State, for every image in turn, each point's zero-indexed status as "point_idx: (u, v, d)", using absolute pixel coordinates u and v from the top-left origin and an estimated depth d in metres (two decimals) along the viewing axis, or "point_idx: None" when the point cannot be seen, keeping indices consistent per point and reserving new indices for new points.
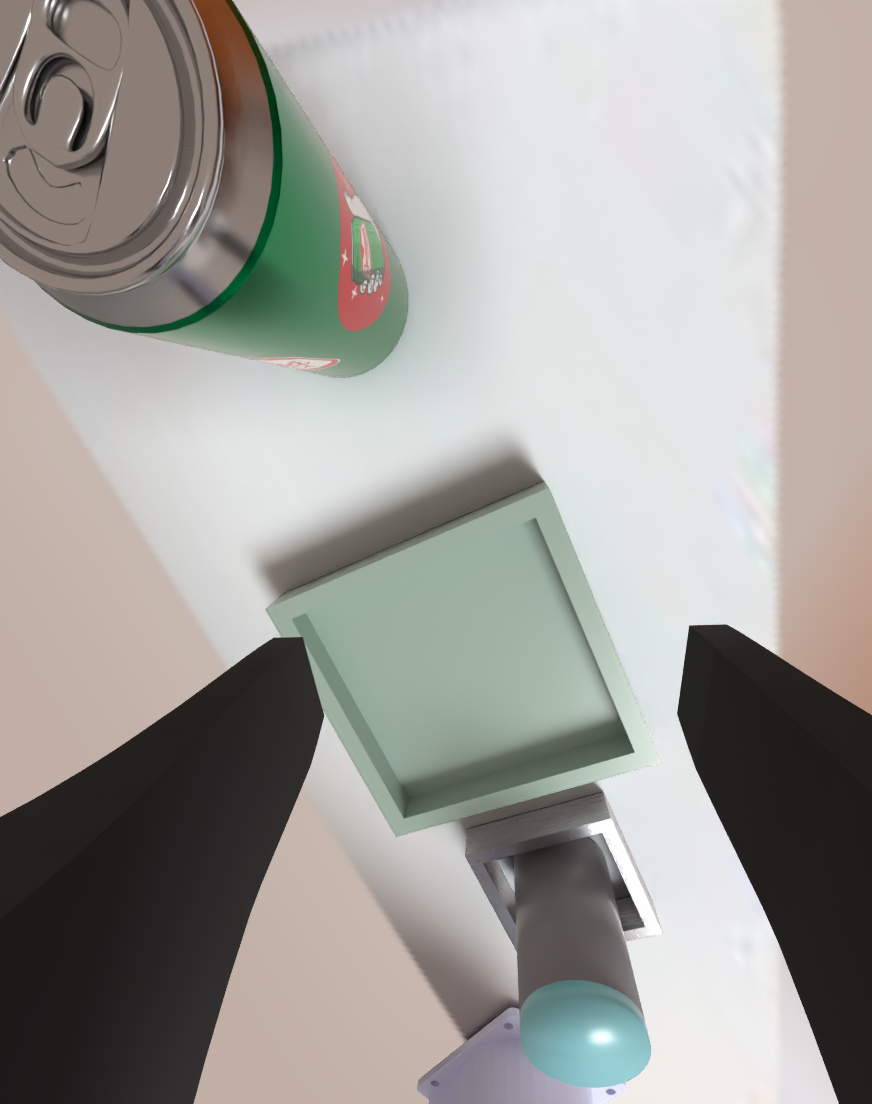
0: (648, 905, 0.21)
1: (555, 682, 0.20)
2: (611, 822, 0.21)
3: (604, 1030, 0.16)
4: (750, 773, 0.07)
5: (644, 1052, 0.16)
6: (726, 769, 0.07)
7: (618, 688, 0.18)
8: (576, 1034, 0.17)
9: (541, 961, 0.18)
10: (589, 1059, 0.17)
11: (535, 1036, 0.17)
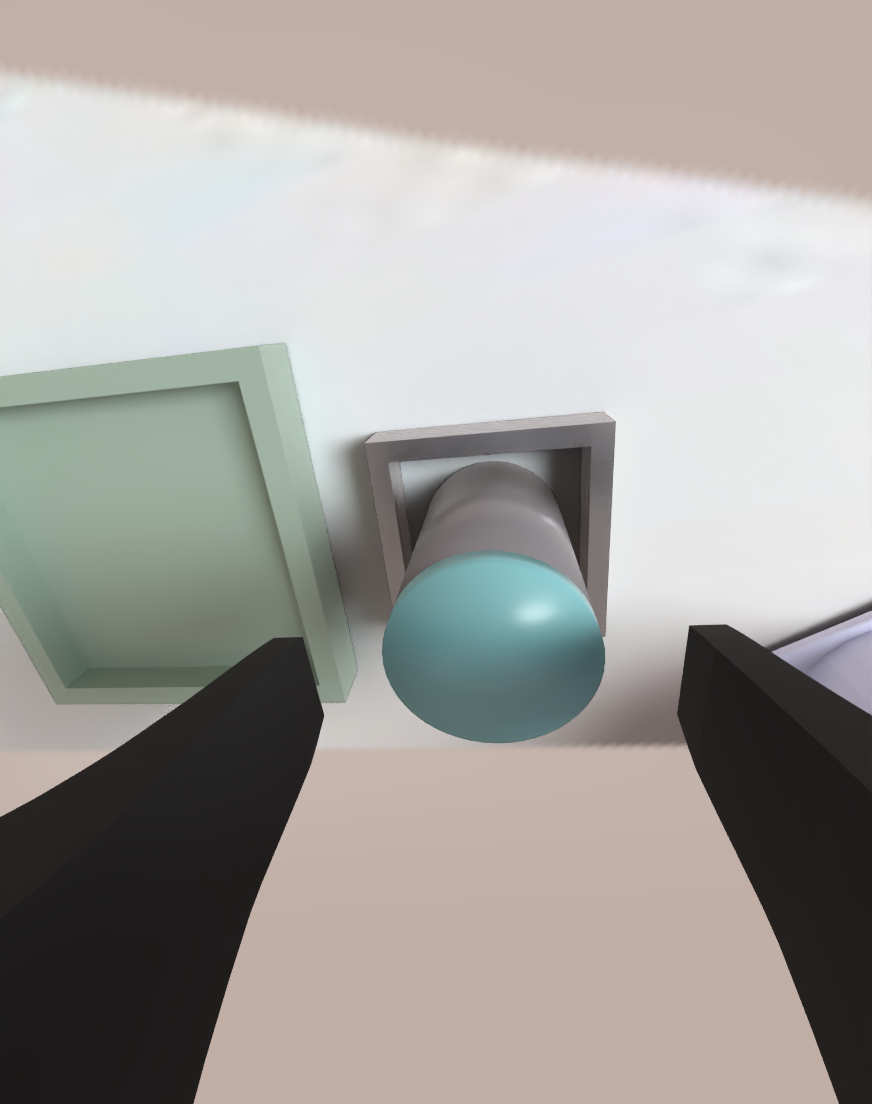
0: (546, 430, 0.13)
1: (176, 449, 0.15)
2: (371, 444, 0.14)
3: (459, 625, 0.09)
4: (750, 773, 0.07)
5: (526, 580, 0.09)
6: (726, 769, 0.07)
7: (134, 378, 0.13)
8: (461, 666, 0.10)
9: None
10: (526, 665, 0.10)
11: (458, 718, 0.10)
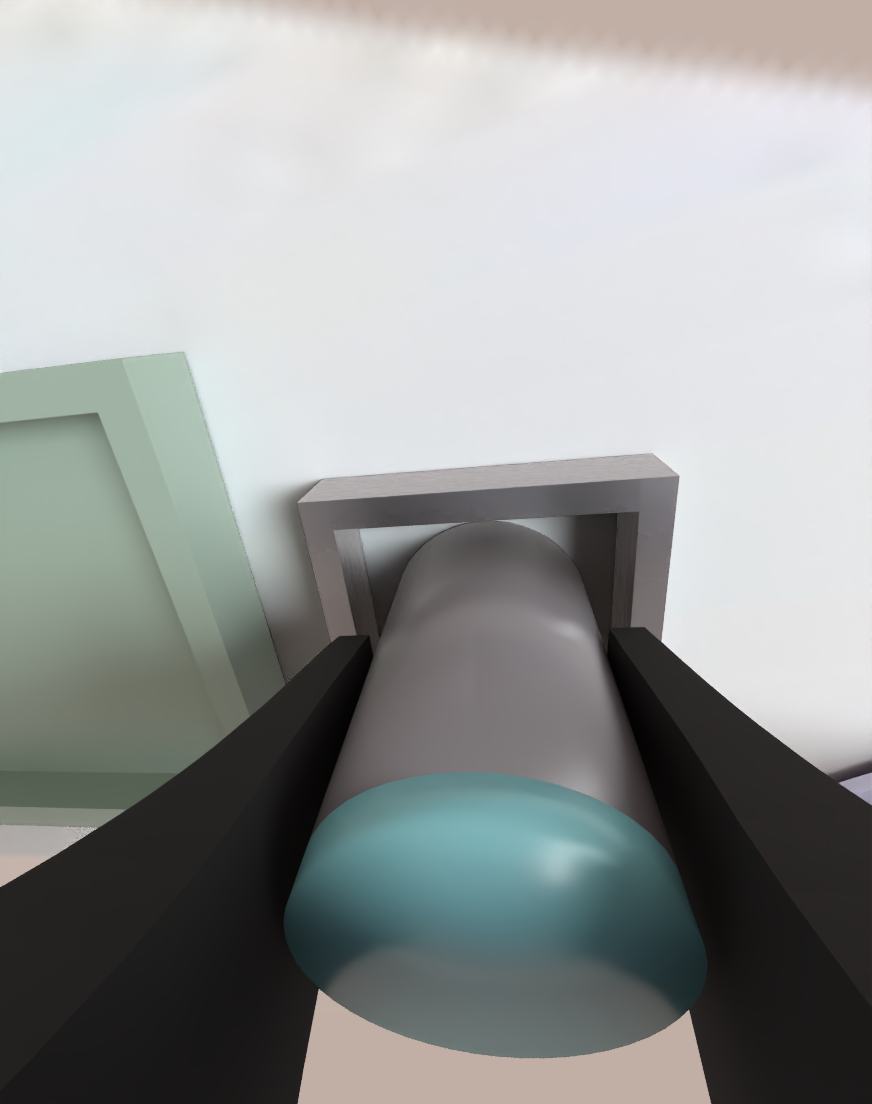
0: (570, 487, 0.08)
1: (40, 503, 0.11)
2: (307, 504, 0.09)
3: (423, 912, 0.05)
4: (649, 772, 0.07)
5: (557, 859, 0.04)
6: None
7: None
8: (431, 964, 0.05)
9: None
10: (553, 973, 0.05)
11: (429, 1024, 0.06)
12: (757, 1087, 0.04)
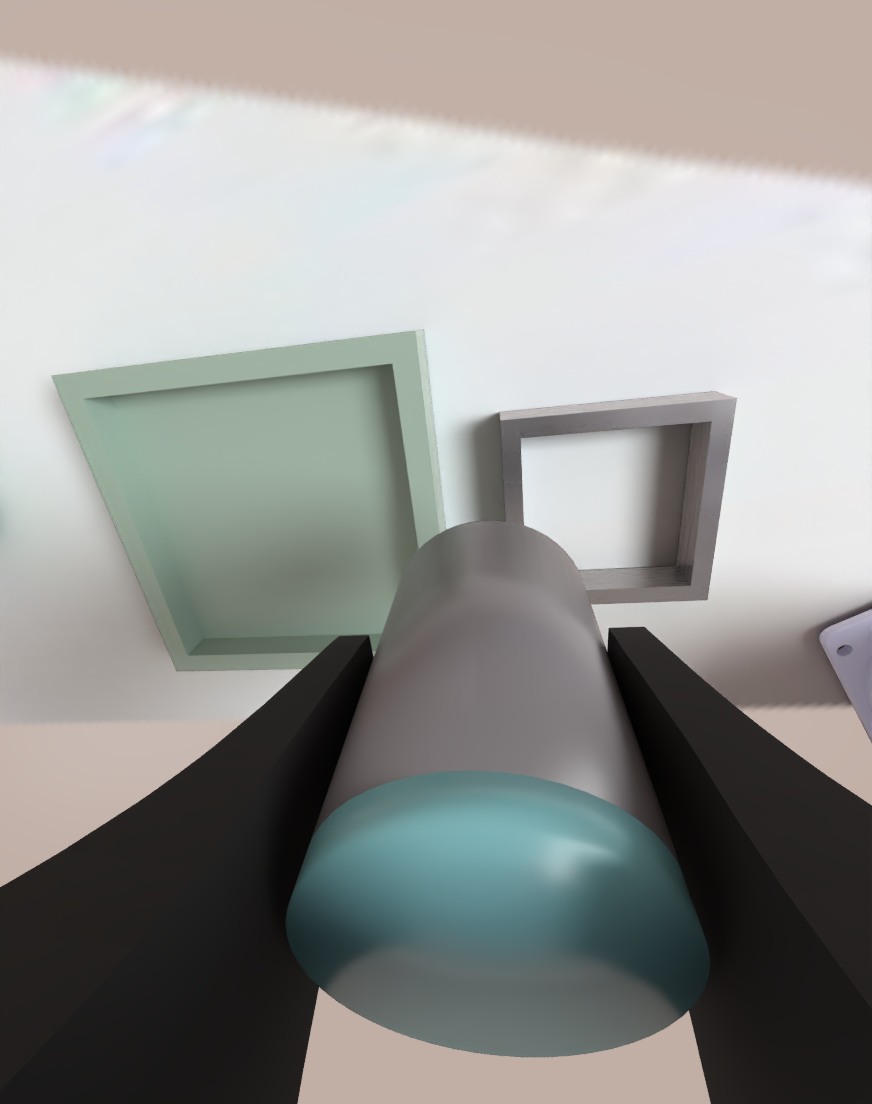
0: (671, 407, 0.14)
1: (314, 429, 0.17)
2: (506, 421, 0.15)
3: (426, 911, 0.05)
4: (648, 772, 0.07)
5: (560, 857, 0.04)
6: None
7: (295, 361, 0.15)
8: (434, 963, 0.05)
9: None
10: (555, 971, 0.05)
11: (431, 1023, 0.06)
12: (757, 1088, 0.04)
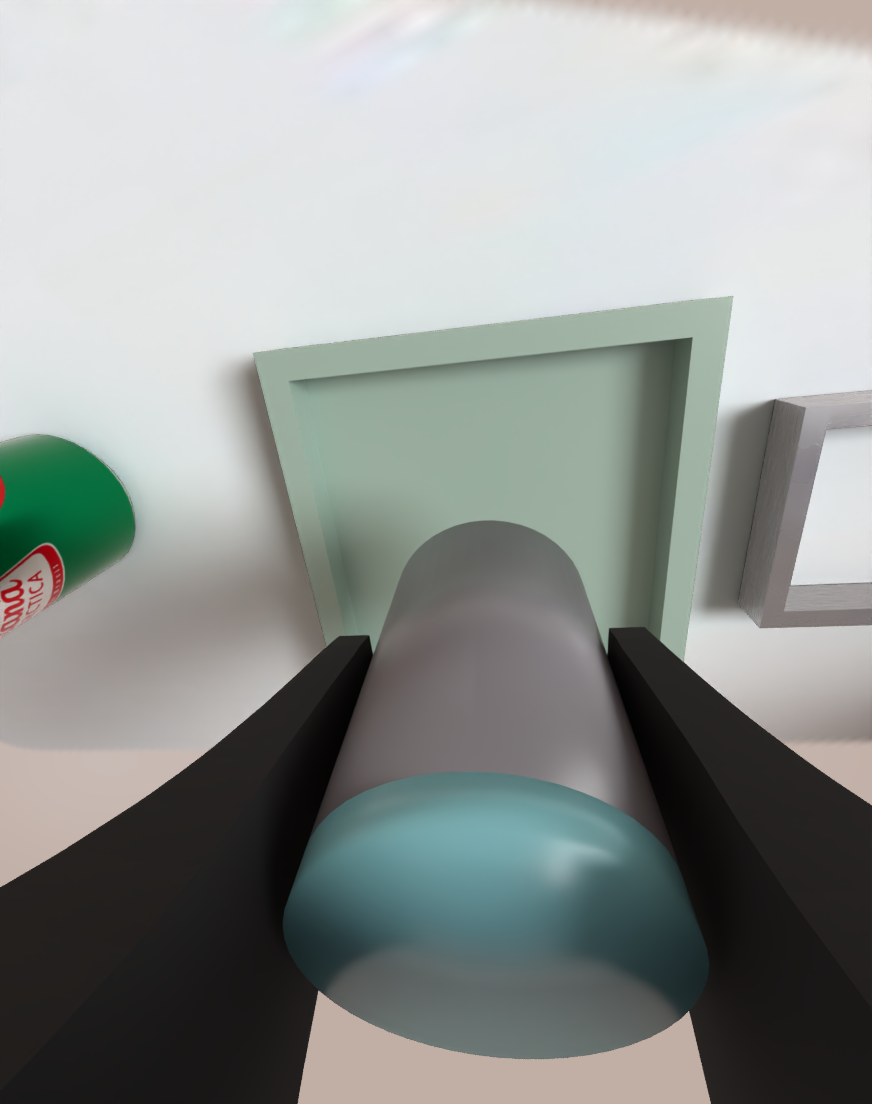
0: None
1: (549, 418, 0.14)
2: (814, 408, 0.12)
3: (423, 912, 0.05)
4: (648, 772, 0.07)
5: (558, 859, 0.04)
6: None
7: (568, 335, 0.12)
8: (431, 965, 0.05)
9: None
10: (554, 973, 0.05)
11: (429, 1025, 0.06)
12: (757, 1087, 0.04)
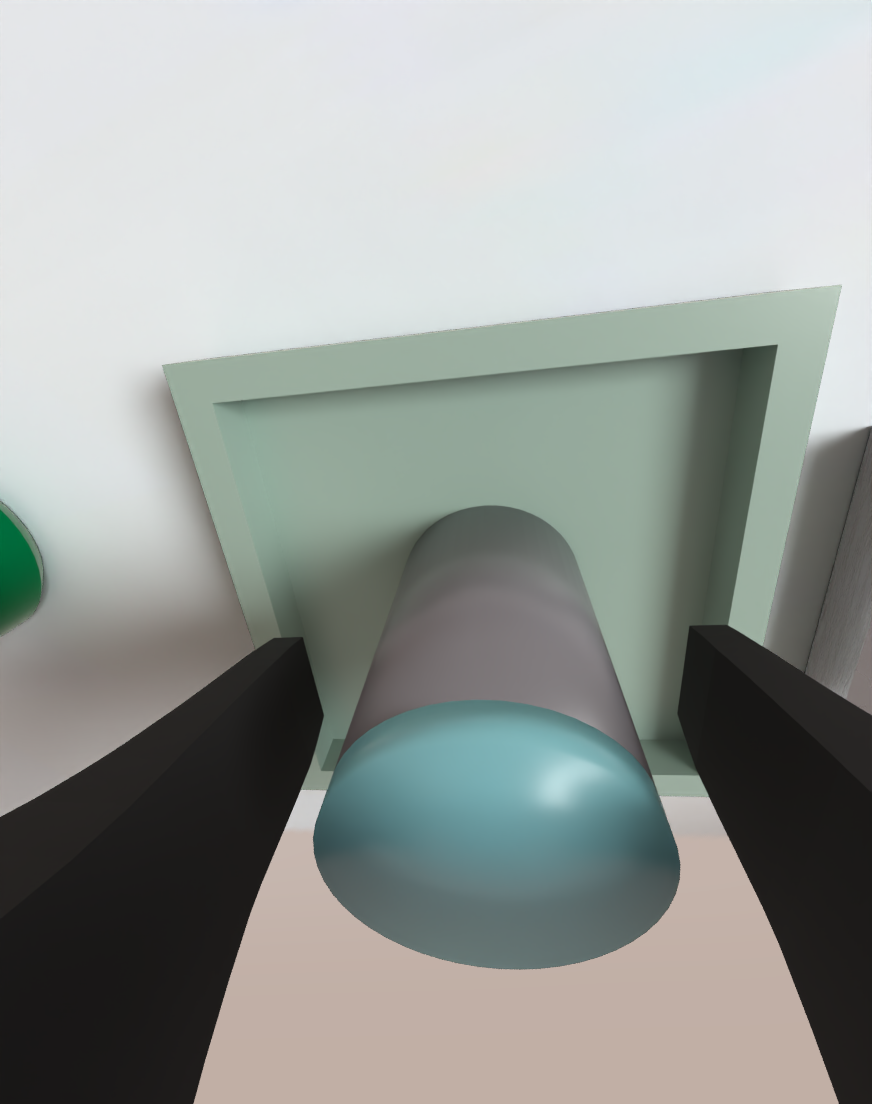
0: None
1: (567, 452, 0.10)
2: None
3: (436, 822, 0.06)
4: (750, 773, 0.07)
5: (550, 766, 0.05)
6: (726, 769, 0.07)
7: (599, 341, 0.08)
8: (442, 875, 0.06)
9: None
10: (548, 879, 0.06)
11: (439, 937, 0.07)
12: None
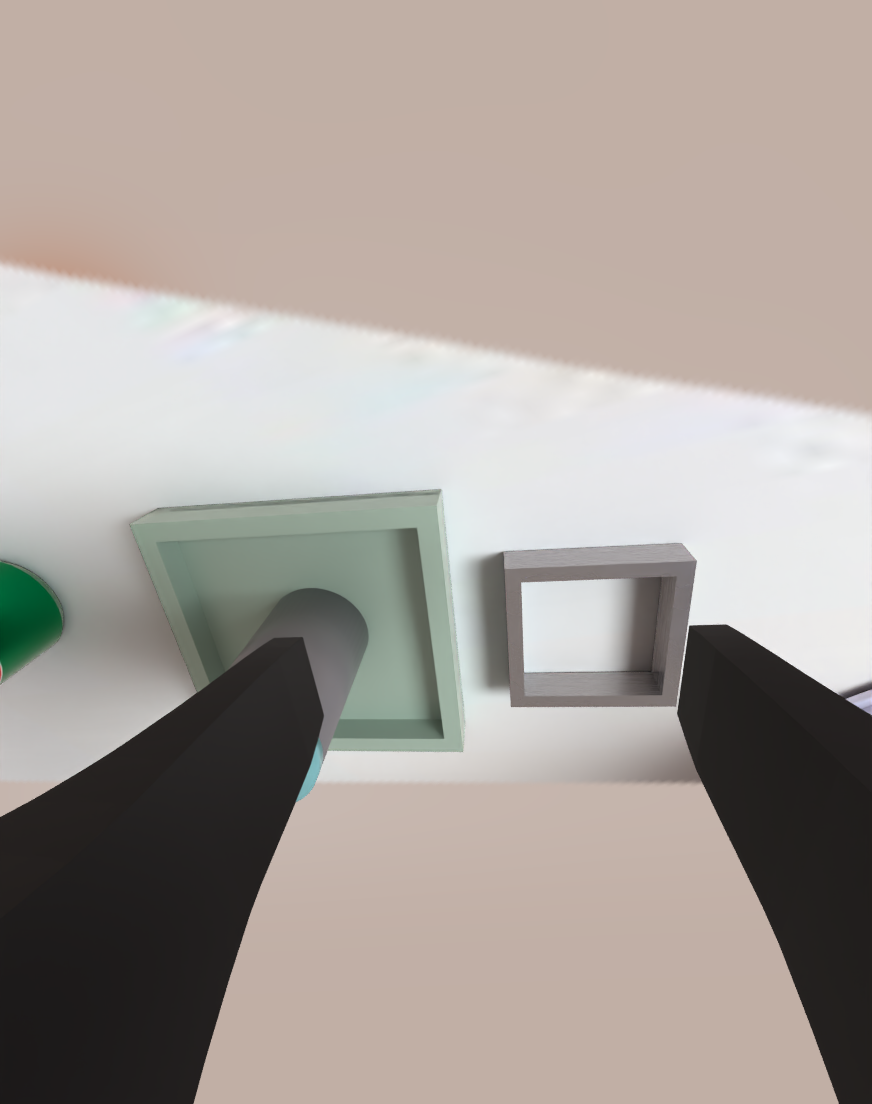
0: (644, 565, 0.17)
1: (347, 562, 0.20)
2: (509, 569, 0.18)
3: None
4: (750, 773, 0.07)
5: None
6: (726, 769, 0.07)
7: (336, 522, 0.18)
8: None
9: None
10: None
11: None
12: None
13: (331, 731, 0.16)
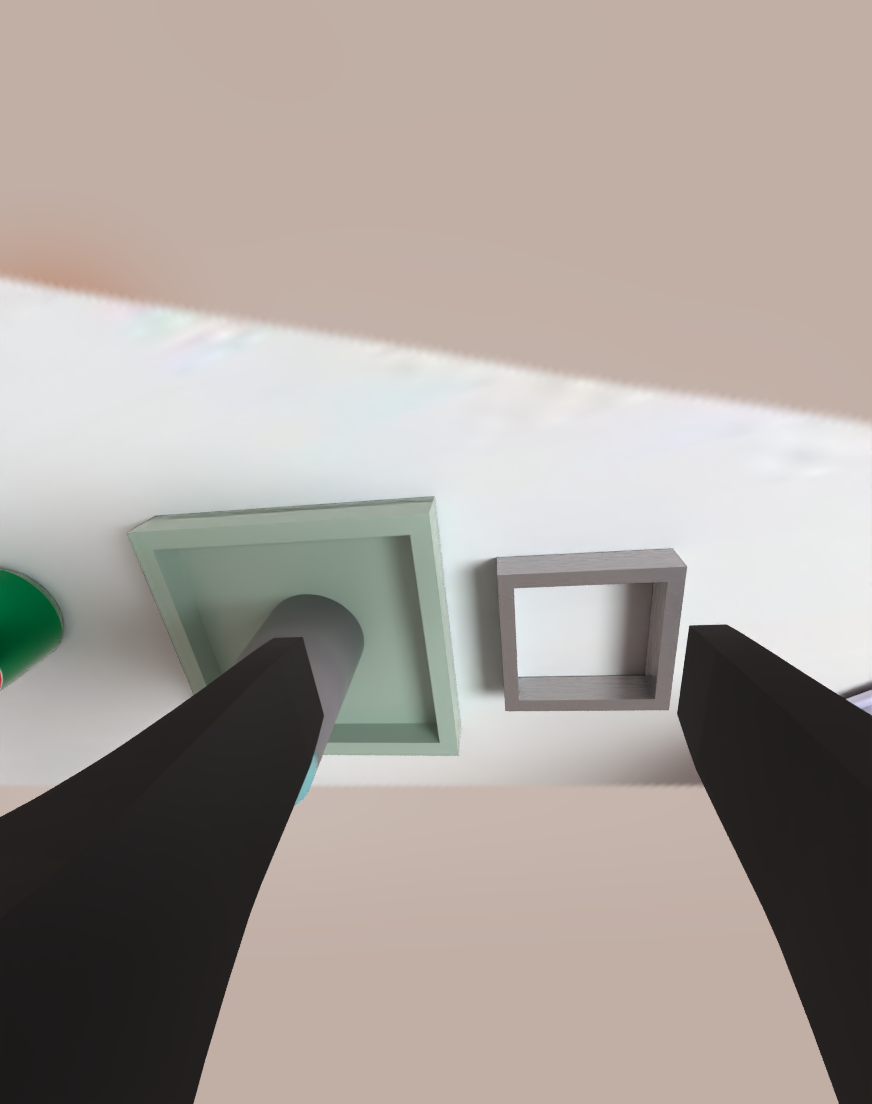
0: (635, 570, 0.18)
1: (342, 569, 0.20)
2: (502, 576, 0.18)
3: None
4: (750, 773, 0.07)
5: None
6: (726, 769, 0.07)
7: (331, 530, 0.18)
8: None
9: None
10: None
11: None
12: None
13: (326, 737, 0.17)
